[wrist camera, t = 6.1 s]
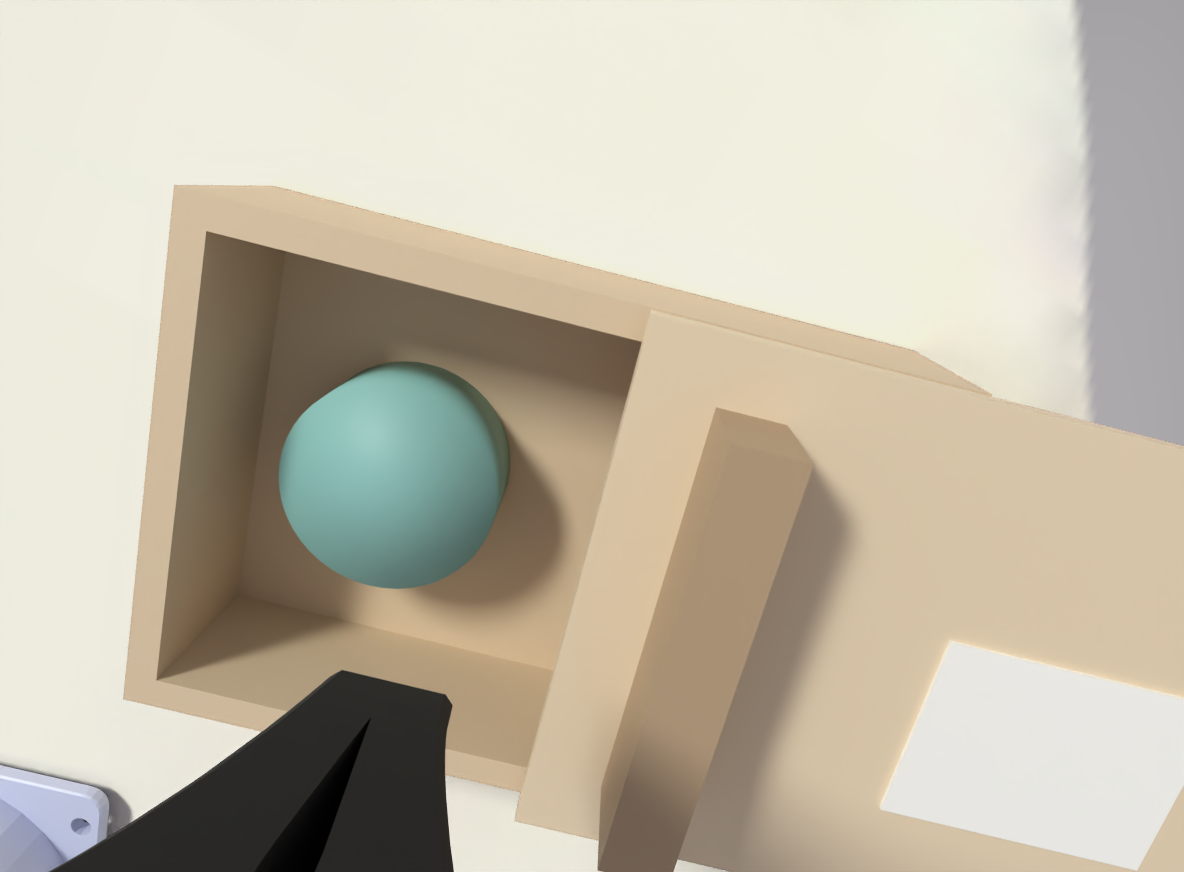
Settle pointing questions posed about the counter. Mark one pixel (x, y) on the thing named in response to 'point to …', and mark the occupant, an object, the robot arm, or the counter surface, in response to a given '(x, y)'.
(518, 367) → the box
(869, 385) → the lid
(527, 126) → the counter surface
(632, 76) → the counter surface
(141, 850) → the robot arm
